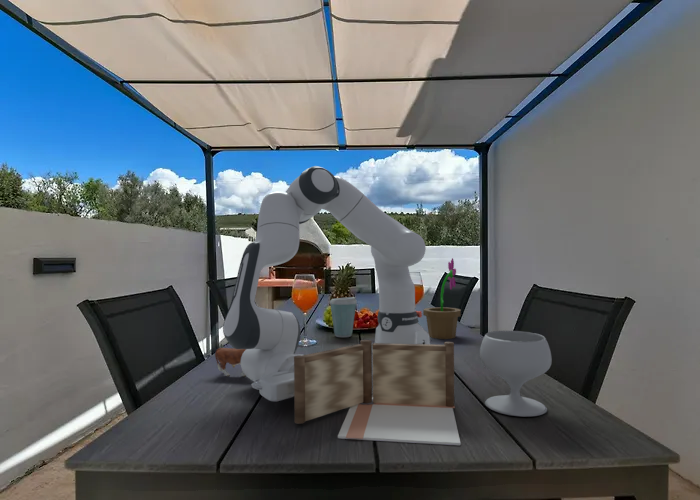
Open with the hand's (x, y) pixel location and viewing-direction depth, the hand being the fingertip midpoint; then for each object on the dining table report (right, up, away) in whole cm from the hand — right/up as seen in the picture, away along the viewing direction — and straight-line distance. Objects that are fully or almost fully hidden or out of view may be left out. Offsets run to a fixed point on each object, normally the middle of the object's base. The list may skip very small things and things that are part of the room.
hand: (328, 388), depth 88 cm
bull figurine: (-25, -6, +29) cm, 39 cm away
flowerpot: (+40, -6, +79) cm, 89 cm away
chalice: (+39, -5, +3) cm, 39 cm away
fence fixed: (+16, -5, +5) cm, 18 cm away
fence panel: (0, -5, -1) cm, 5 cm away
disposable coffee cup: (+2, -6, +82) cm, 82 cm away
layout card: (+14, -5, -3) cm, 15 cm away
